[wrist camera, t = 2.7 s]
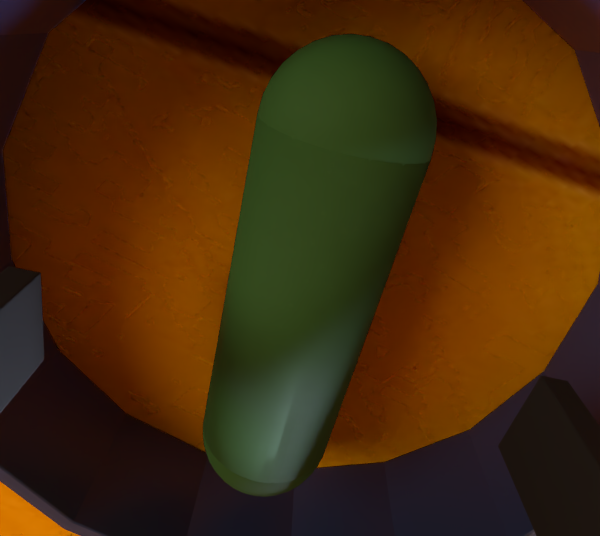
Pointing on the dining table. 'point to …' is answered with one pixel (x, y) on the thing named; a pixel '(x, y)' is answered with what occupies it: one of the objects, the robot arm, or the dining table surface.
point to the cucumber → (313, 252)
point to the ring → (195, 464)
